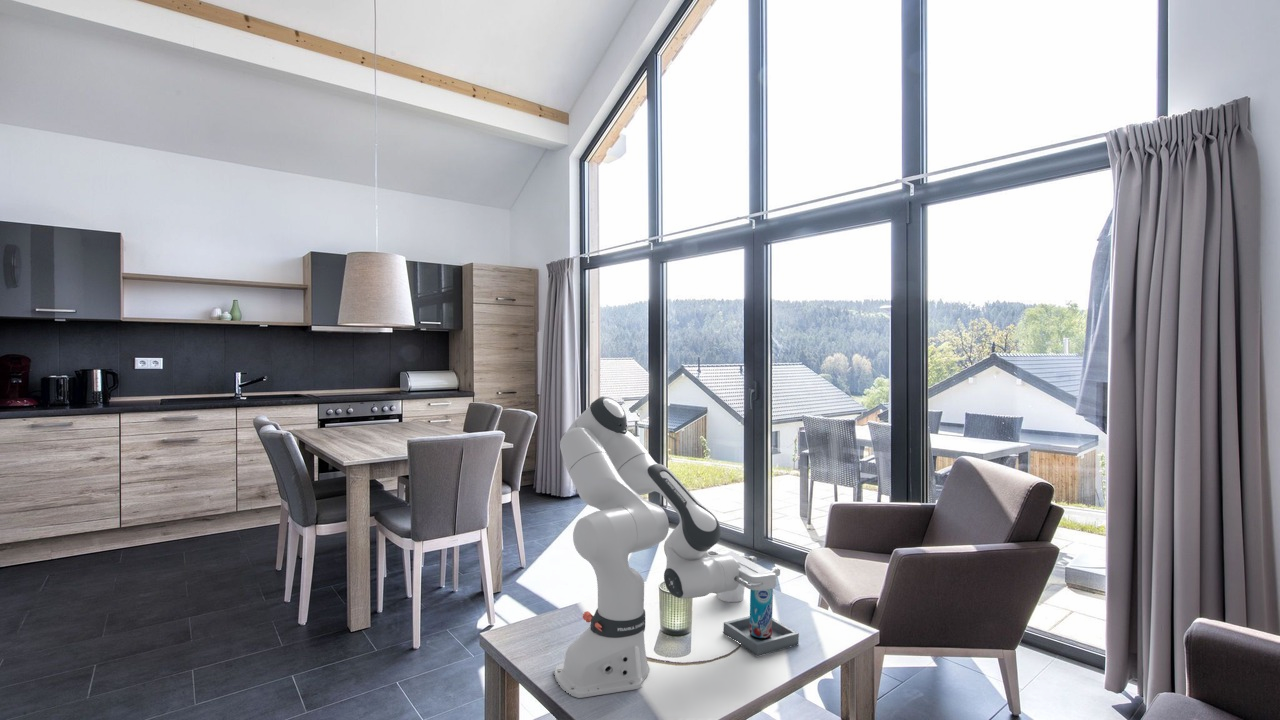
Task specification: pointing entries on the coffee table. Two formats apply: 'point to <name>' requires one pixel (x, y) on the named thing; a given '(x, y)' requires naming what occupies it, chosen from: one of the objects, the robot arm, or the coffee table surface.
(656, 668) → the coffee table surface
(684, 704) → the coffee table surface
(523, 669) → the coffee table surface
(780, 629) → the box
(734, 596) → the candle holder
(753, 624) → the beverage can
